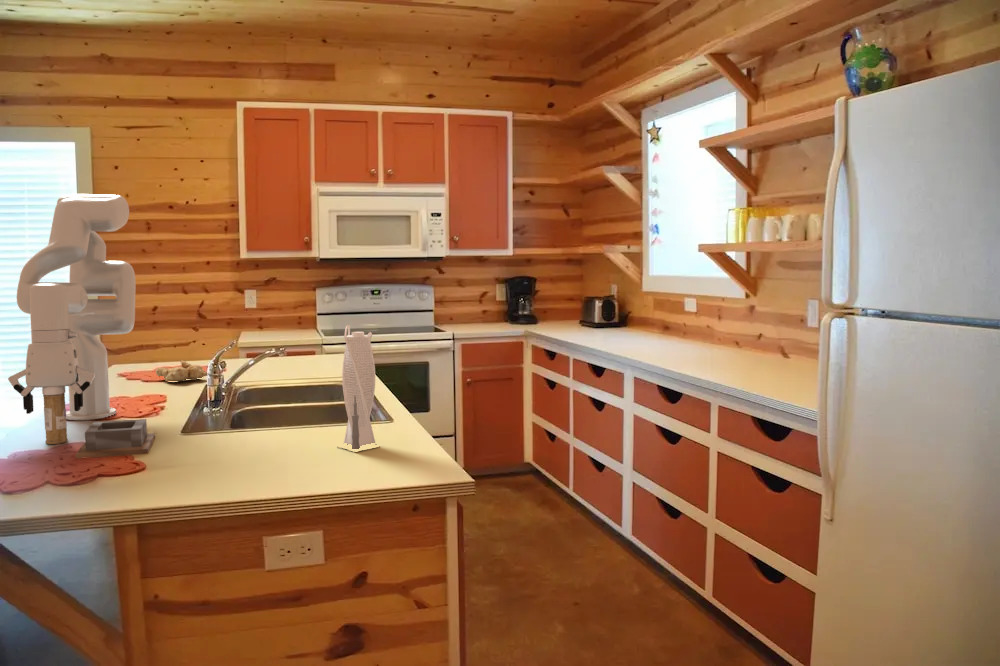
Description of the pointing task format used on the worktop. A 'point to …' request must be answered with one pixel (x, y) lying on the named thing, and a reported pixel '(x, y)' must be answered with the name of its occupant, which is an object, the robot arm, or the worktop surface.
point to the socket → (116, 439)
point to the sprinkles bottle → (55, 415)
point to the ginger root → (182, 372)
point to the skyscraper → (358, 387)
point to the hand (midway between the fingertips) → (54, 411)
